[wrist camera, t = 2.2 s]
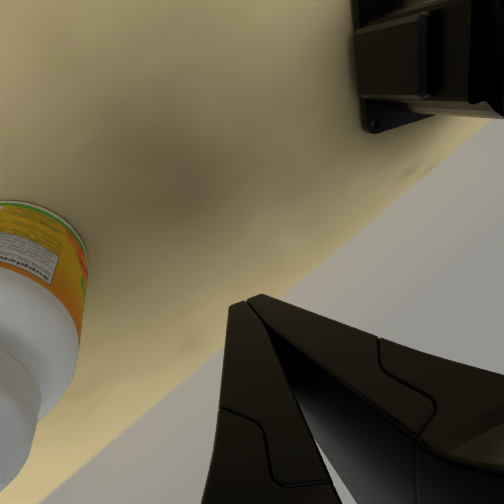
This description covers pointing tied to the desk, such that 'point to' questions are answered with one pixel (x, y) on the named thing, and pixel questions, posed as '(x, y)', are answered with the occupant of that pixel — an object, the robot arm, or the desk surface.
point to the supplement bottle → (35, 322)
